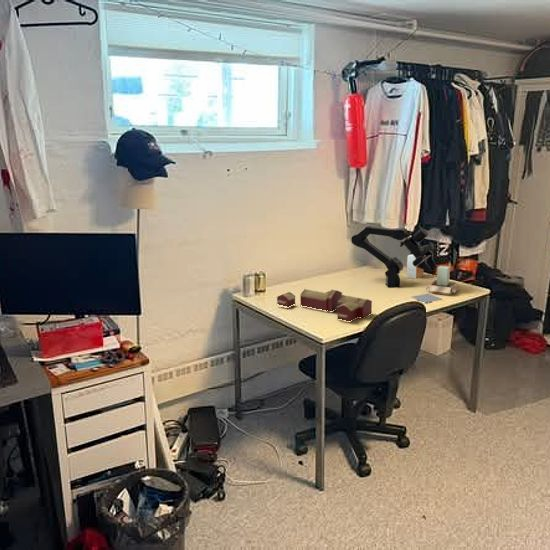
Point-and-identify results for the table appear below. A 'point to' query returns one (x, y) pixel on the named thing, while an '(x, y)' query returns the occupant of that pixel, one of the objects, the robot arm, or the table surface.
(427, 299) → the coaster
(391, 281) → the robot arm
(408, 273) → the small box
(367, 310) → the toy houses
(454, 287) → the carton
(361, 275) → the table surface
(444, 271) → the box
